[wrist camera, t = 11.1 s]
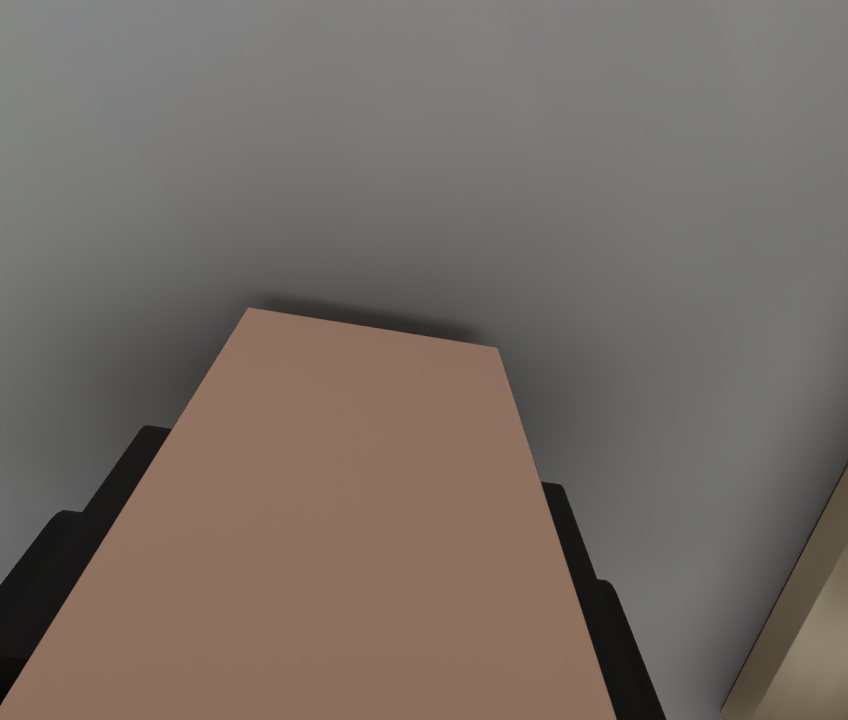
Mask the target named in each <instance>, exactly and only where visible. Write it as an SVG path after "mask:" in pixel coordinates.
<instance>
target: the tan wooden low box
mask: <svg viewBox="0 0 848 720" xmlns="http://www.w3.org/2000/svg"><path fill="white" fill-rule="evenodd" d="M721 713H722V715H723V717H724V719H725V720H848V466H847V468H846V470H845V471H844V473H843V475H842V477H841V479H840V481H839V483H838V485H837V487H836V489H835V491H834V493H833V495H832V497H831V499H830V500H829V502H828V504H827V506H826V508H825V510H824V512H823V514H822V516H821V518H820V520H819V522H818V524H817V526H816V528H815V530H814V531H813V533H812V535H811V537H810V539H809V541H808V543H807V545H806V547H805V549H804V551H803V553H802V555H801V557H800V559H799V561H798V562H797V564H796V566H795V568H794V570H793V572H792V574H791V576H790V578H789V580H788V582H787V584H786V586H785V588H784V590H783V592H782V593H781V595H780V597H779V599H778V601H777V603H776V605H775V607H774V609H773V611H772V613H771V615H770V617H769V619H768V621H767V622H766V624H765V626H764V628H763V630H762V632H761V634H760V636H759V638H758V640H757V642H756V644H755V646H754V648H753V650H752V652H751V653H750V655H749V657H748V659H747V661H746V663H745V665H744V667H743V669H742V671H741V673H740V675H739V677H738V679H737V681H736V683H735V684H734V686H733V688H732V690H731V692H730V694H729V696H728V698H727V700H726V702H725V704H724V706H723V708H722V710H721Z"/></svg>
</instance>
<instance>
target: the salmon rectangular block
mask: <svg viewBox="0 0 848 720" xmlns="http://www.w3.org/2000/svg"><path fill="white" fill-rule="evenodd" d="M0 720H617V719H616V716H615V713H614V710H613V707H612V704H611V701H610V698H609V694H608V691H607V688H606V685H605V682H604V679H603V676H602V673H601V669H600V666H599V663H598V660H597V657H596V654H595V651H594V648H593V644H592V641H591V638H590V635H589V632H588V629H587V626H586V623H585V619H584V616H583V613H582V610H581V607H580V604H579V601H578V598H577V594H576V591H575V588H574V585H573V582H572V579H571V576H570V573H569V570H568V566H567V563H566V560H565V557H564V554H563V551H562V548H561V545H560V541H559V538H558V535H557V532H556V529H555V526H554V523H553V520H552V516H551V513H550V510H549V507H548V504H547V501H546V498H545V495H544V491H543V488H542V485H541V482H540V479H539V476H538V473H537V470H536V466H535V463H534V460H533V457H532V454H531V451H530V448H529V445H528V441H527V438H526V435H525V432H524V429H523V426H522V423H521V420H520V417H519V413H518V410H517V407H516V404H515V401H514V398H513V395H512V392H511V388H510V385H509V382H508V379H507V376H506V373H505V370H504V367H503V363H502V360H501V357H500V354H499V351H498V348H496V347H490V346H484V345H478V344H472V343H465V342H459V341H453V340H447V339H441V338H434V337H428V336H422V335H416V334H410V333H404V332H397V331H391V330H385V329H379V328H373V327H366V326H360V325H354V324H348V323H342V322H336V321H329V320H323V319H317V318H311V317H305V316H298V315H292V314H286V313H280V312H274V311H268V310H261V309H255V308H249V307H248V309H247V310H246V312H245V313H244V315H243V317H242V318H241V320H240V321H239V323H238V325H237V326H236V328H235V329H234V331H233V333H232V334H231V336H230V337H229V339H228V341H227V342H226V344H225V346H224V347H223V349H222V350H221V352H220V354H219V355H218V357H217V358H216V360H215V362H214V363H213V365H212V366H211V368H210V370H209V371H208V373H207V374H206V376H205V378H204V379H203V381H202V382H201V384H200V386H199V387H198V389H197V391H196V392H195V394H194V395H193V397H192V399H191V400H190V402H189V403H188V405H187V407H186V408H185V410H184V411H183V413H182V415H181V416H180V418H179V419H178V421H177V423H176V424H175V426H174V427H173V429H172V431H171V432H170V434H169V436H168V437H167V439H166V440H165V442H164V444H163V445H162V447H161V448H160V450H159V452H158V453H157V455H156V456H155V458H154V460H153V461H152V463H151V464H150V466H149V468H148V469H147V471H146V472H145V474H144V476H143V477H142V479H141V481H140V482H139V484H138V485H137V487H136V489H135V490H134V492H133V493H132V495H131V497H130V498H129V500H128V501H127V503H126V505H125V506H124V508H123V509H122V511H121V513H120V514H119V516H118V517H117V519H116V521H115V522H114V524H113V525H112V527H111V529H110V530H109V532H108V534H107V535H106V537H105V538H104V540H103V542H102V543H101V545H100V546H99V548H98V550H97V551H96V553H95V554H94V556H93V558H92V559H91V561H90V562H89V564H88V566H87V567H86V569H85V570H84V572H83V574H82V575H81V577H80V579H79V580H78V582H77V583H76V585H75V587H74V588H73V590H72V591H71V593H70V595H69V596H68V598H67V599H66V601H65V603H64V604H63V606H62V607H61V609H60V611H59V612H58V614H57V615H56V617H55V619H54V620H53V622H52V624H51V625H50V627H49V628H48V630H47V632H46V633H45V635H44V636H43V638H42V640H41V641H40V643H39V644H38V646H37V648H36V649H35V651H34V652H33V654H32V656H31V657H30V659H29V660H28V662H27V664H26V665H25V667H24V669H23V670H22V672H21V673H20V675H19V677H18V678H17V680H16V681H15V683H14V685H13V686H12V688H11V689H10V691H9V693H8V694H7V696H6V697H5V699H4V701H3V702H2V704H1V705H0Z"/></svg>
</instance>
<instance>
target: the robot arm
mask: <svg viewBox="0 0 848 720" xmlns="http://www.w3.org/2000/svg"><path fill="white" fill-rule="evenodd" d="M171 431H172V429H169V428H162V427H155V426H148V425H146V426H144V427H143V428H142V429H141V430H140V431H139V433H138V434H137V435H136V437H135V438H134V440H133V441H132V442H131V444H130V445H129V447H128V448H127V450H126V451H125V452H124V454H123V455H122V457H121V458H120V459H119V461H118V462H117V464H116V465H115V467H114V468H113V469H112V471H111V472H110V474H109V475H108V476H107V478H106V479H105V481H104V482H103V483H102V485H101V486H100V488H99V489H98V491H97V492H96V493H95V495H94V496H93V498H92V499H91V500H90V502H89V503H88V505H87V506H86V508H85V509H84V510H83V512H74V511H66V510H63V511H61V512H58V513H57V514H56V515H55V516H54V517H53V518H52V519H51V520H50V521H49V522H48V524H47V525H46V526H45V527H44V529H43V530H42V531H41V533H40V534H39V535H38V537H37V538H36V539H35V541H34V542H33V543H32V544H31V546H30V547H29V548H28V550H27V551H26V552H25V554H24V555H23V556H22V558H21V559H20V560H19V561H18V563H17V564H16V565H15V567H14V568H13V569H12V571H11V572H10V573H9V575H8V576H7V577H6V578H5V580H4V581H3V582H2V584H1V585H0V705H1V704H2V702H3V701H4V699H5V697H6V696H7V694H8V693H9V691H10V689H11V688H12V686H13V685H14V683H15V681H16V680H17V678H18V677H19V675H20V673H21V672H22V670H23V669H24V667H25V665H26V664H27V662H28V660H29V659H30V657H31V656H32V654H33V652H34V651H35V649H36V648H37V646H38V644H39V643H40V641H41V640H42V638H43V636H44V635H45V633H46V632H47V630H48V628H49V627H50V625H51V624H52V622H53V620H54V619H55V617H56V615H57V614H58V612H59V611H60V609H61V607H62V606H63V604H64V603H65V601H66V599H67V598H68V596H69V595H70V593H71V591H72V590H73V588H74V587H75V585H76V583H77V582H78V580H79V579H80V577H81V575H82V574H83V572H84V570H85V569H86V567H87V566H88V564H89V562H90V561H91V559H92V558H93V556H94V554H95V553H96V551H97V550H98V548H99V546H100V545H101V543H102V542H103V540H104V538H105V537H106V535H107V534H108V532H109V530H110V529H111V527H112V525H113V524H114V522H115V521H116V519H117V517H118V516H119V514H120V513H121V511H122V509H123V508H124V506H125V505H126V503H127V501H128V500H129V498H130V497H131V495H132V493H133V492H134V490H135V489H136V487H137V485H138V484H139V482H140V481H141V479H142V477H143V476H144V474H145V472H146V471H147V469H148V468H149V466H150V464H151V463H152V461H153V460H154V458H155V456H156V455H157V453H158V452H159V450H160V448H161V447H162V445H163V444H164V442H165V440H166V439H167V437H168V436H169V434H170V432H171ZM541 485H542V488H543V491H544V495H545V498H546V501H547V504H548V507H549V510H550V513H551V516H552V520H553V523H554V526H555V529H556V532H557V535H558V538H559V541H560V545H561V548H562V551H563V554H564V557H565V560H566V563H567V566H568V570H569V573H570V576H571V579H572V582H573V585H574V588H575V591H576V594H577V598H578V601H579V604H580V607H581V610H582V613H583V616H584V619H585V623H586V626H587V629H588V632H589V635H590V638H591V641H592V644H593V648H594V651H595V654H596V657H597V660H598V663H599V666H600V669H601V673H602V676H603V679H604V682H605V685H606V688H607V691H608V694H609V698H610V701H611V704H612V707H613V710H614V713H615V716H616V719H617V720H666V717H665V715H664V712H663V710H662V707H661V705H660V702H659V700H658V697H657V695H656V692H655V690H654V687H653V684H652V682H651V679H650V677H649V674H648V672H647V669H646V667H645V664H644V662H643V659H642V657H641V654H640V652H639V649H638V646H637V644H636V641H635V639H634V636H633V634H632V631H631V629H630V626H629V624H628V621H627V619H626V616H625V613H624V611H623V608H622V606H621V603H620V601H619V598H618V596H617V593H616V591H615V589H614V588H613V586H612V584H611V583H609V582H608V581H607V580H599V579H597V578H596V575H595V572H594V569H593V567H592V564H591V561H590V558H589V556H588V553H587V550H586V548H585V545H584V542H583V539H582V537H581V534H580V531H579V529H578V526H577V523H576V520H575V518H574V515H573V512H572V510H571V507H570V504H569V501H568V499H567V496H566V493H565V490H564V488H563V487H562V485H560V484H554V483H547V482H541Z"/></svg>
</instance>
